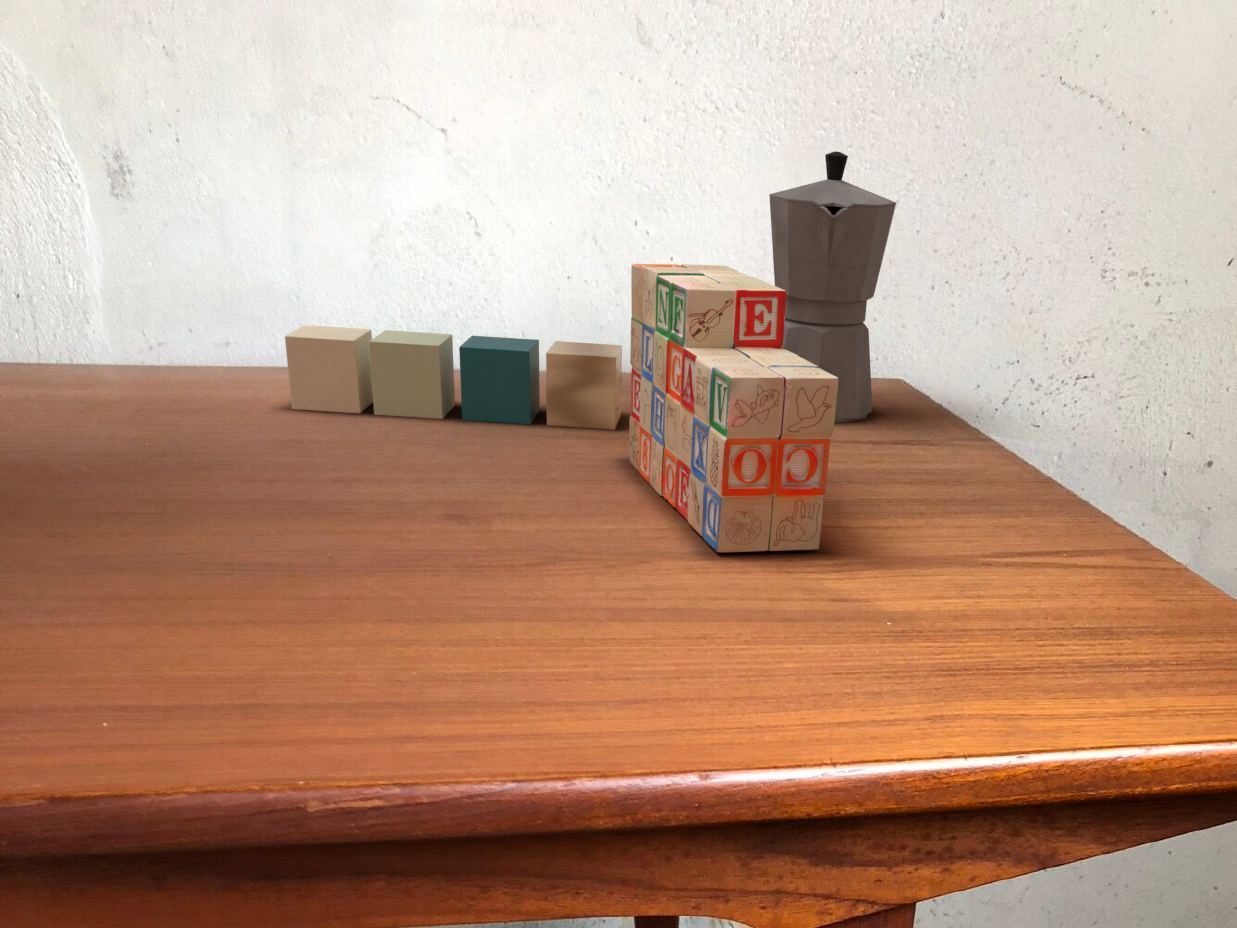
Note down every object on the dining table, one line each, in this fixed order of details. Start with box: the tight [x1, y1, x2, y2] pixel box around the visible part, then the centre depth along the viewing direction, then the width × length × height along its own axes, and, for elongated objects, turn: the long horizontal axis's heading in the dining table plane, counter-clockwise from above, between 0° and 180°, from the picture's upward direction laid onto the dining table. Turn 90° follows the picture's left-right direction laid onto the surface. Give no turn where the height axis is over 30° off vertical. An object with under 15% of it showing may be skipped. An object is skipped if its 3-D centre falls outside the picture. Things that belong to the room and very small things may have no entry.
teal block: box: [458, 335, 541, 425], centre depth 102 cm, size 5×5×5 cm
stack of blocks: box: [629, 263, 838, 553], centre depth 82 cm, size 21×6×12 cm, turn 16°
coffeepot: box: [768, 151, 897, 424], centre depth 107 cm, size 15×9×18 cm, turn 177°
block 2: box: [369, 329, 456, 420], centre depth 102 cm, size 5×5×5 cm
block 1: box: [284, 324, 373, 415], centre depth 102 cm, size 5×5×5 cm
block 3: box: [545, 340, 623, 431], centre depth 102 cm, size 5×5×5 cm
